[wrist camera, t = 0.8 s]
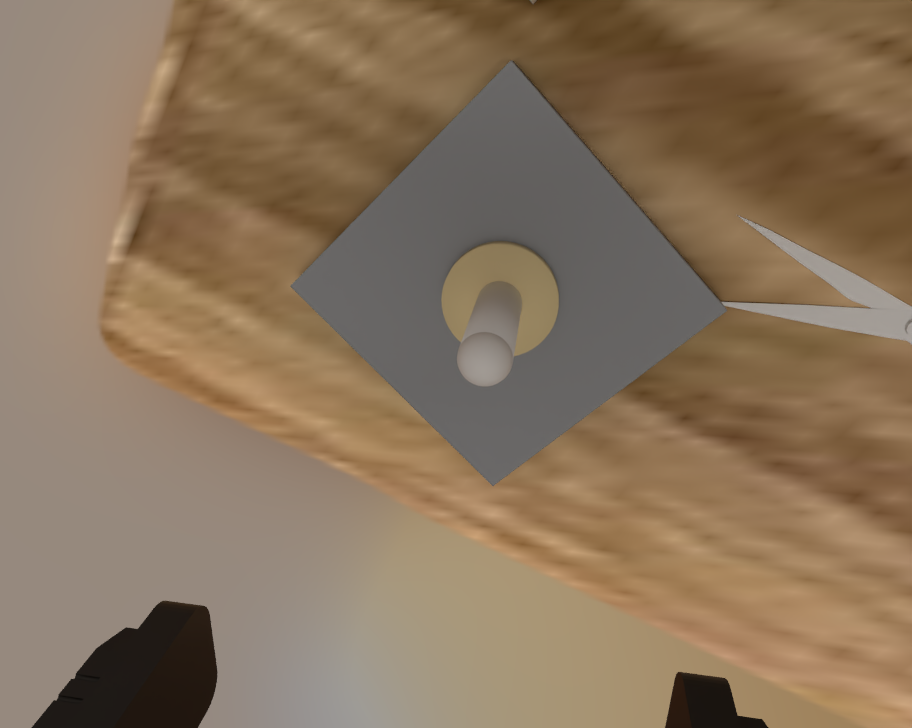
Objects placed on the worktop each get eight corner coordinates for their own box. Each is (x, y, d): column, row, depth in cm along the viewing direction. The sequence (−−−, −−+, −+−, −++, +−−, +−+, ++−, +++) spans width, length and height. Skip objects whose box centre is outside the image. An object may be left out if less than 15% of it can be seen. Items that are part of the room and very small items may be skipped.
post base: (513, 61, 30) (492, 54, 21) (720, 300, 32) (783, 389, 23) (300, 277, 35) (208, 350, 26) (495, 470, 37) (474, 599, 28)
